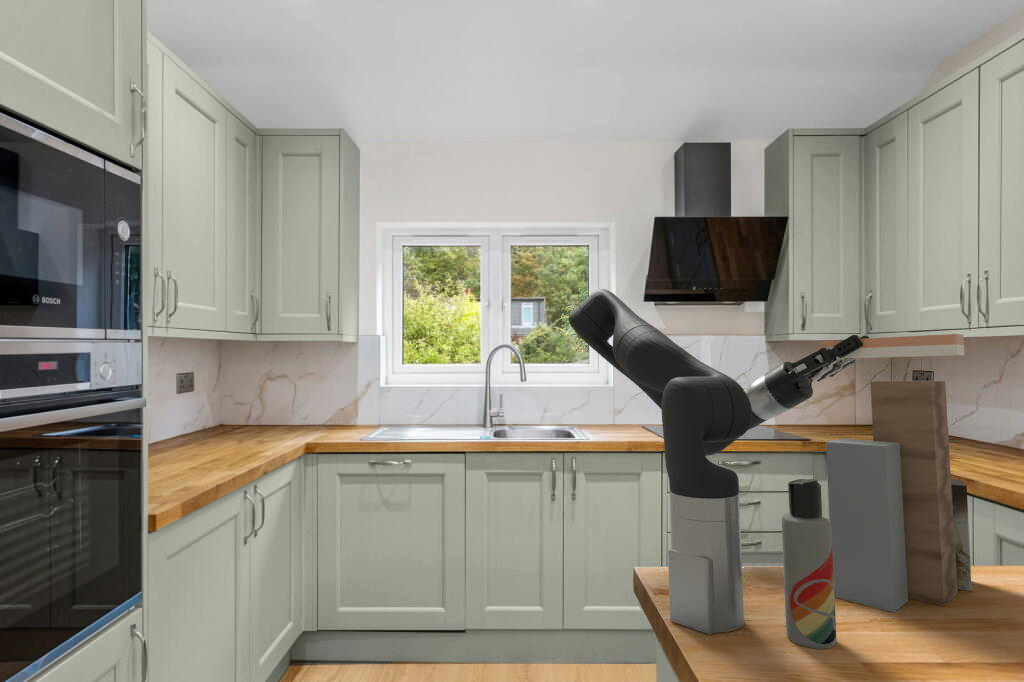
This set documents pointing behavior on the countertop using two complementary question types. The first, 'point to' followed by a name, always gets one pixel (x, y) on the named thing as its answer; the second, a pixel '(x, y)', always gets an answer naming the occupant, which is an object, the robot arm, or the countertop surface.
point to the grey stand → (867, 522)
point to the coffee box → (961, 534)
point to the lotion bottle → (808, 568)
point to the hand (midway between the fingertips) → (864, 340)
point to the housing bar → (905, 346)
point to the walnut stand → (921, 481)
